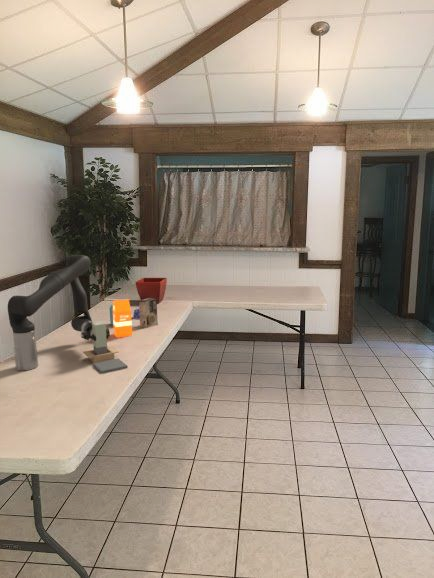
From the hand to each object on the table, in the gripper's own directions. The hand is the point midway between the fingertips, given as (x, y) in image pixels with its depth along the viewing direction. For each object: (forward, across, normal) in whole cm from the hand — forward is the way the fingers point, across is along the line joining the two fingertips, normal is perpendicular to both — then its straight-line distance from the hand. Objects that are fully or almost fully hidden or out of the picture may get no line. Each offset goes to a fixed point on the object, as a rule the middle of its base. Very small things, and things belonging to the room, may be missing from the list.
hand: (101, 337), depth 215 cm
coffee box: (-46, +43, +11) cm, 64 cm away
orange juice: (-36, +23, +11) cm, 44 cm away
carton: (-3, 0, +11) cm, 11 cm away
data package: (-59, +30, +11) cm, 67 cm away
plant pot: (-107, +72, +11) cm, 129 cm away
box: (-3, 0, +10) cm, 10 cm away
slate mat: (+10, 0, +11) cm, 15 cm away
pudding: (-69, +46, +11) cm, 84 cm away
